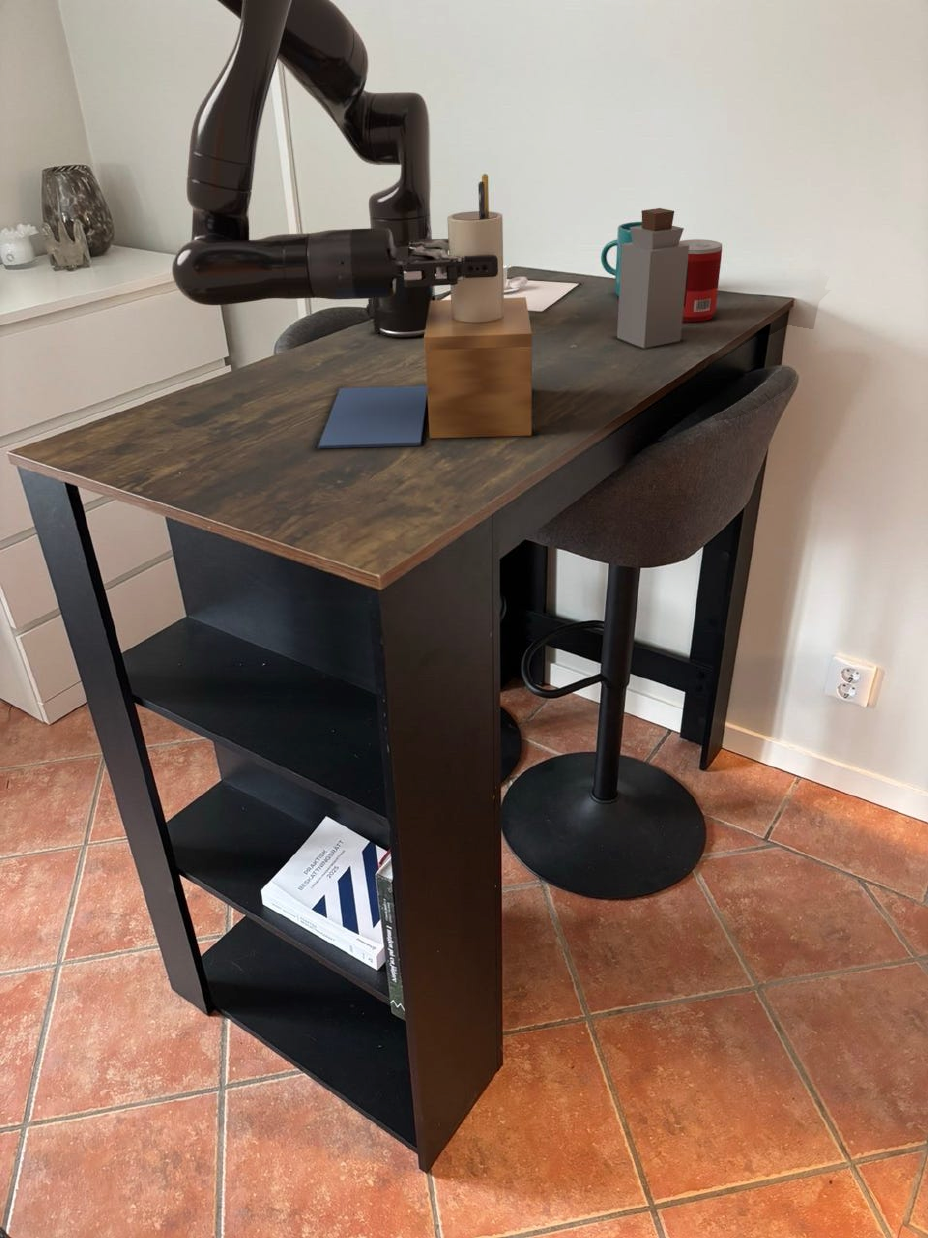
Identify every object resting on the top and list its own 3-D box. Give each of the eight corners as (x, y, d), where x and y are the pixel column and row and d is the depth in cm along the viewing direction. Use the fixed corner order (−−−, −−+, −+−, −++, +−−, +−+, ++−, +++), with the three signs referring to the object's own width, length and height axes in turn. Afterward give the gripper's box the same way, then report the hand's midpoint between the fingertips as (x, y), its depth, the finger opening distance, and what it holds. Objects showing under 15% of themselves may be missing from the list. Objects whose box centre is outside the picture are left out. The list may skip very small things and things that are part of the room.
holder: (443, 321, 107) (437, 178, 99) (462, 307, 112) (457, 170, 103) (493, 324, 105) (491, 179, 97) (511, 310, 110) (509, 171, 101)
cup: (608, 285, 167) (611, 219, 161) (673, 290, 162) (678, 222, 156) (591, 297, 160) (593, 228, 154) (657, 303, 155) (663, 232, 149)
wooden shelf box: (430, 438, 108) (423, 336, 102) (435, 392, 122) (430, 300, 115) (531, 435, 108) (531, 333, 101) (525, 389, 121) (525, 296, 115)
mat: (318, 448, 107) (318, 445, 107) (340, 390, 124) (340, 388, 124) (420, 445, 107) (420, 442, 106) (428, 388, 123) (428, 385, 123)
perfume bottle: (643, 348, 134) (653, 216, 125) (616, 337, 140) (623, 210, 130) (680, 340, 137) (692, 210, 127) (652, 330, 142) (662, 204, 132)
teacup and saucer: (531, 286, 168) (531, 262, 166) (515, 296, 162) (515, 272, 160) (487, 283, 171) (487, 260, 169) (470, 293, 165) (469, 270, 163)
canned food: (721, 312, 149) (729, 240, 143) (704, 325, 143) (712, 250, 137) (676, 307, 152) (683, 237, 146) (658, 319, 147) (664, 247, 141)
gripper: (340, 242, 97) (498, 236, 97) (355, 218, 109) (495, 212, 109) (348, 314, 101) (499, 308, 101) (362, 283, 113) (496, 278, 113)
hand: (496, 258), depth 105 cm, fingers closed on holder, 6 cm apart
